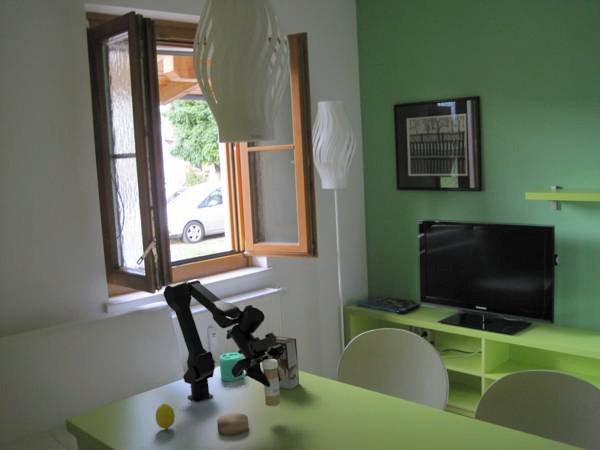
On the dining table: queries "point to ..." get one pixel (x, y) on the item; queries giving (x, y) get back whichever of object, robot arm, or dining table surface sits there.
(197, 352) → the robot arm
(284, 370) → the coffee box
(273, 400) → the sprinkles bottle
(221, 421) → the walnut base
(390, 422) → the dining table surface
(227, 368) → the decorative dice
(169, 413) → the lemon
